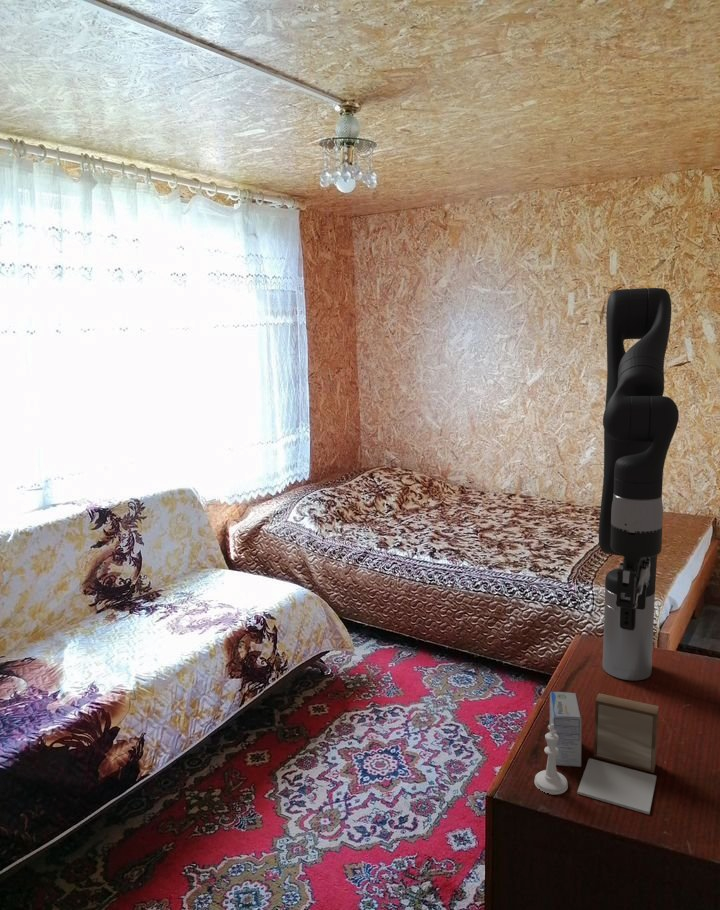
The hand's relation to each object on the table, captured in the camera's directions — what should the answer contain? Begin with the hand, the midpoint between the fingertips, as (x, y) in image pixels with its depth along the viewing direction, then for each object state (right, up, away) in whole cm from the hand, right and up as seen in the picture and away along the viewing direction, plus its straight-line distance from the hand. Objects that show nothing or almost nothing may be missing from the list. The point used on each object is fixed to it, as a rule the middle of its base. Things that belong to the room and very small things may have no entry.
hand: (633, 618), depth 110 cm
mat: (-5, -24, -7) cm, 25 cm away
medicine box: (-11, -23, +2) cm, 25 cm away
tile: (-2, -23, -1) cm, 23 cm away
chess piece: (-15, -24, -6) cm, 29 cm away
